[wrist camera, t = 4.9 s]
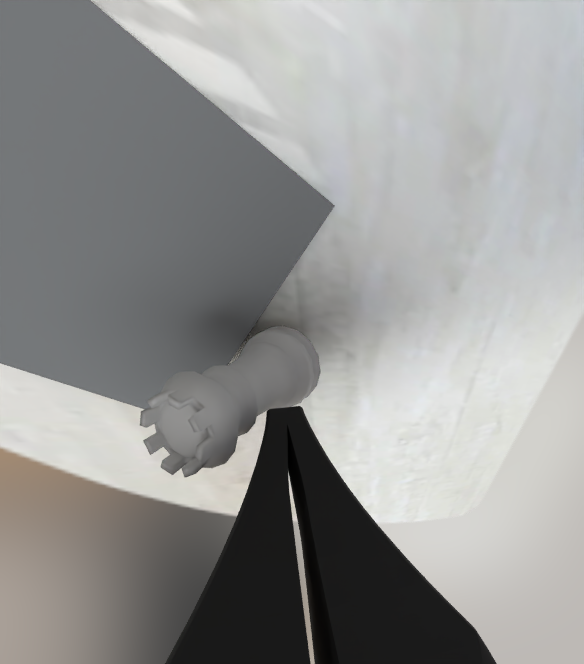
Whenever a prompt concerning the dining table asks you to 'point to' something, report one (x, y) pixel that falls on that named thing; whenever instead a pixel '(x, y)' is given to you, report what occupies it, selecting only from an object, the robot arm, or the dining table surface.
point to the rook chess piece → (229, 399)
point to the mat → (129, 210)
